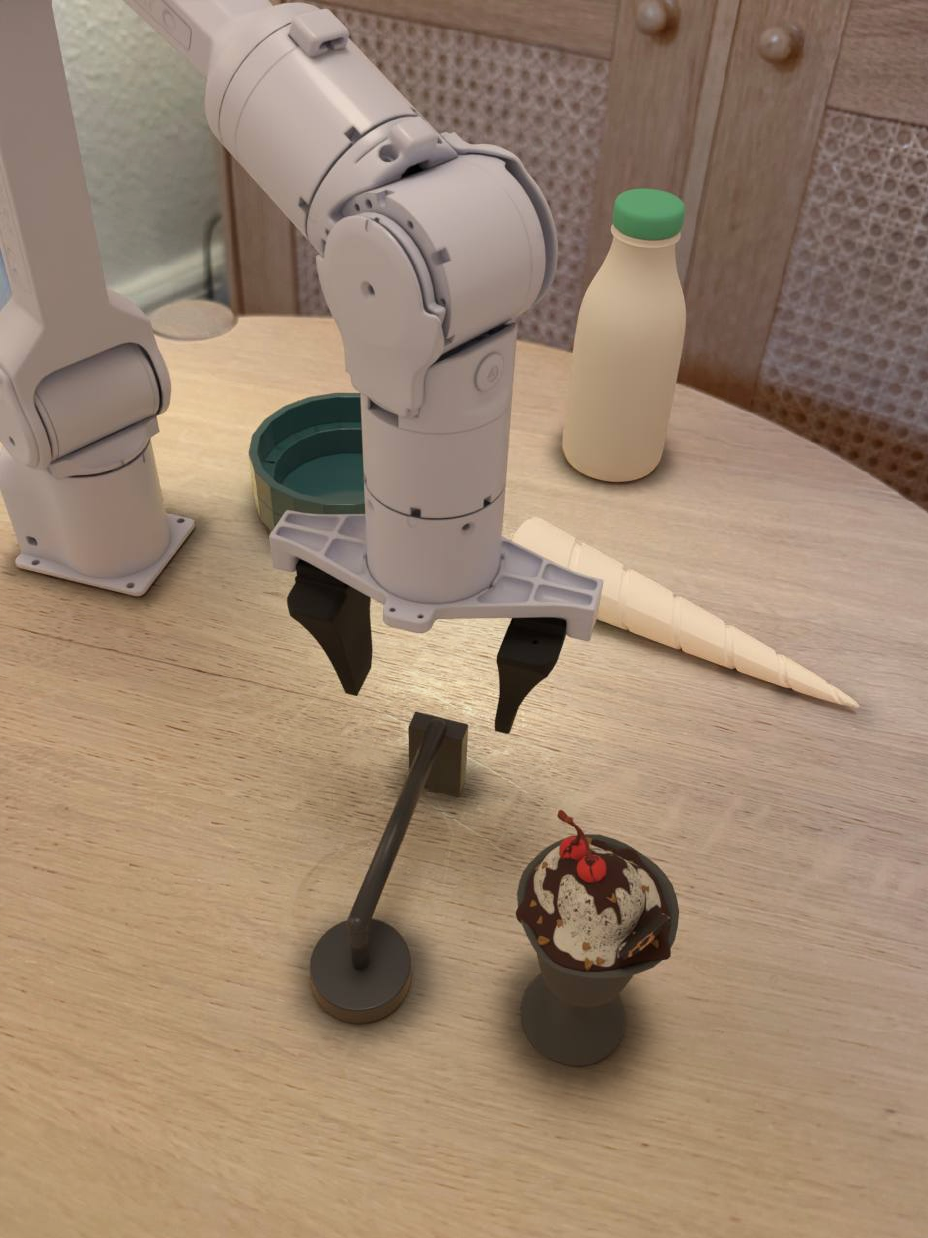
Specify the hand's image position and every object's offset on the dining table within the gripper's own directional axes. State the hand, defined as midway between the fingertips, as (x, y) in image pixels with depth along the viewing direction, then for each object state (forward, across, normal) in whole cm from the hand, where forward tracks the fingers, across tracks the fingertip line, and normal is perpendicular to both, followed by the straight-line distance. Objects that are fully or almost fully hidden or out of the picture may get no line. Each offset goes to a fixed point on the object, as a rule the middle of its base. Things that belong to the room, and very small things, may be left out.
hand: (431, 698), depth 53 cm
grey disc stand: (+9, 0, -5) cm, 11 cm away
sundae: (+10, +10, -9) cm, 17 cm away
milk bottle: (+10, +3, +36) cm, 37 cm away
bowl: (+9, -14, +24) cm, 29 cm away
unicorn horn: (+10, +10, +18) cm, 23 cm away
